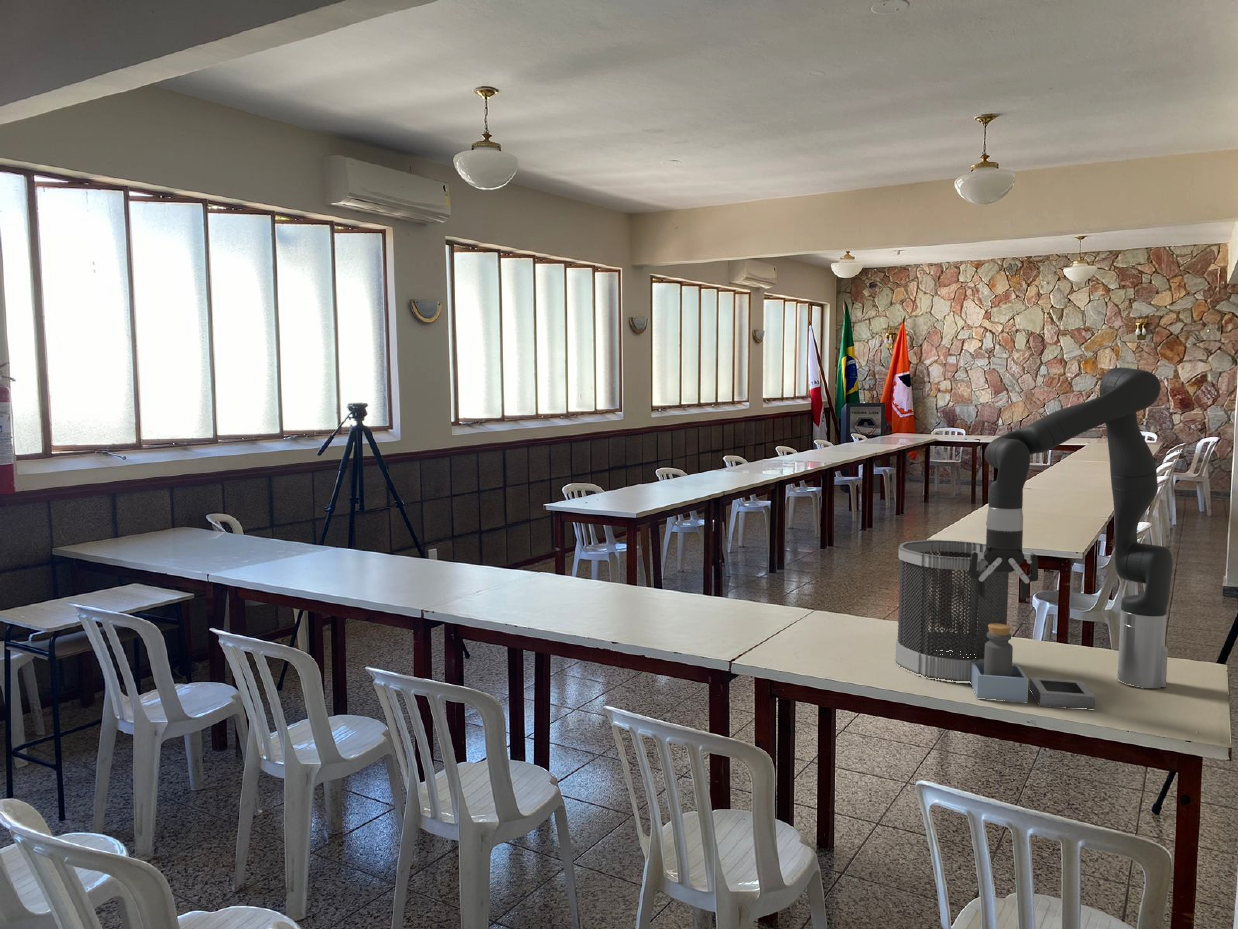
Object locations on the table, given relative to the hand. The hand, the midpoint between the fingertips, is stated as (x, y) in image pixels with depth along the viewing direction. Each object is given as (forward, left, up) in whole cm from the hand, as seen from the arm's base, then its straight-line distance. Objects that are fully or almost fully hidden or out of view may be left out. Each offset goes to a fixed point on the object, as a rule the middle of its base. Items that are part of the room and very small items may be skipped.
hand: (1002, 597), depth 200 cm
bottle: (0, +1, -22) cm, 22 cm away
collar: (-13, +1, -22) cm, 26 cm away
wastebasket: (+8, -18, -22) cm, 30 cm away
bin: (0, 0, -22) cm, 22 cm away
